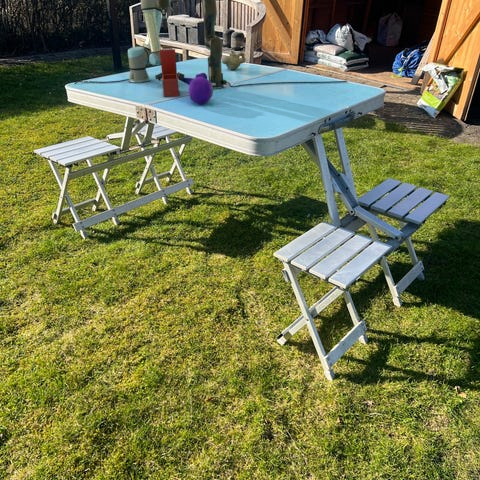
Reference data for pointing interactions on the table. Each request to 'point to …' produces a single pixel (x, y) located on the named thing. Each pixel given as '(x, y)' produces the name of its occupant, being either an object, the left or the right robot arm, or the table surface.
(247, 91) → the table surface
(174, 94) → the chest
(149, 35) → the left robot arm
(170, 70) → the lid
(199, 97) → the toy
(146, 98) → the table surface
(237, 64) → the teapot
